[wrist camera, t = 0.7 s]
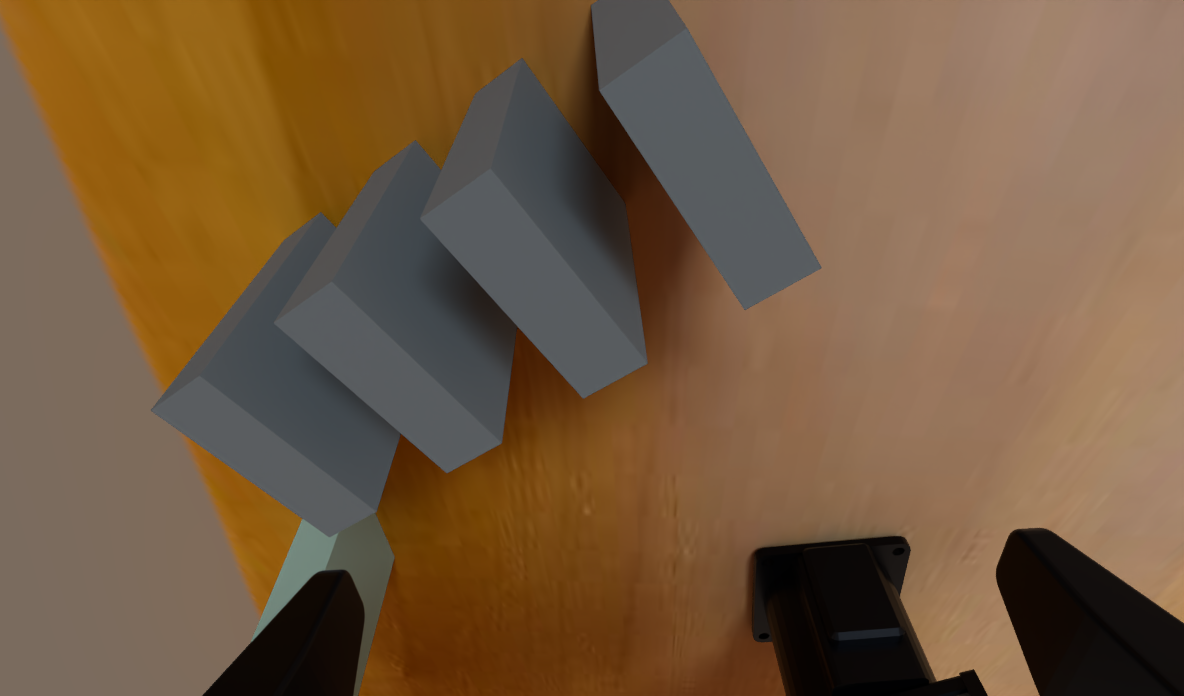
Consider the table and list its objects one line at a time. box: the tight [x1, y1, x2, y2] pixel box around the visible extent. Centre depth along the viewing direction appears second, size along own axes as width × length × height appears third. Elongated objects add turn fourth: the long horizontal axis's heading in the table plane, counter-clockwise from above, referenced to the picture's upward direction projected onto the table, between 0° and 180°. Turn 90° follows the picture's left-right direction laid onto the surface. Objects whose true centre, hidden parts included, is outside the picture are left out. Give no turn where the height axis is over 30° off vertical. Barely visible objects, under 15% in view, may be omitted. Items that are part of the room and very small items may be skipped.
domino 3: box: [420, 58, 648, 399], centre depth 16 cm, size 2×5×8 cm, turn 34°
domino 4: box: [591, 0, 822, 310], centre depth 15 cm, size 2×5×8 cm, turn 34°
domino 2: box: [274, 140, 517, 473], centre depth 17 cm, size 2×5×8 cm, turn 35°
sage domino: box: [251, 513, 395, 696], centre depth 25 cm, size 2×5×8 cm, turn 7°
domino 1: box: [151, 212, 401, 537], centre depth 19 cm, size 2×5×8 cm, turn 34°
